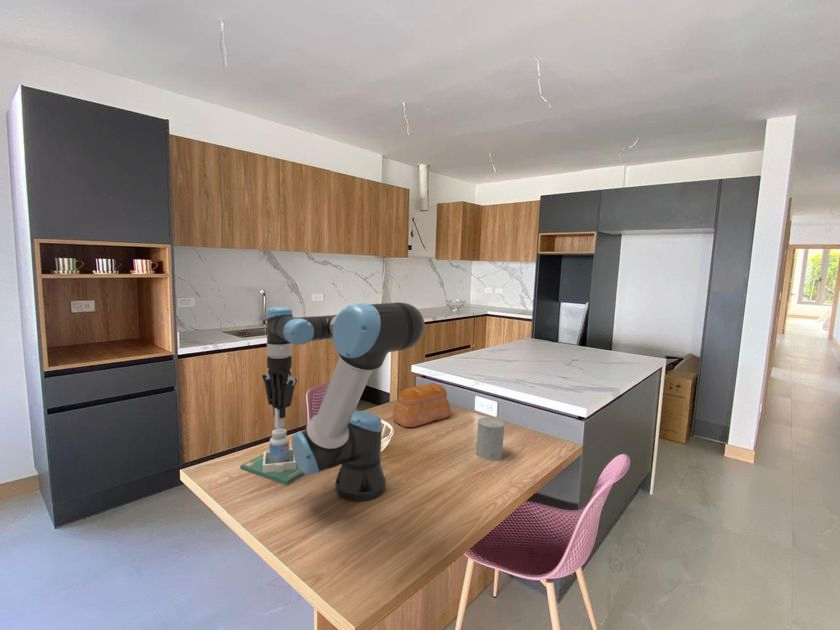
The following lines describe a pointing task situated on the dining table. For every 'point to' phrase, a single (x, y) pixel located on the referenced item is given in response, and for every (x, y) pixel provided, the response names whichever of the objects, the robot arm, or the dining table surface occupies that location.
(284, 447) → the pill bottle
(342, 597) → the dining table surface
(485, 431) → the grey concrete cylinder
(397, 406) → the bread
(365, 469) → the robot arm
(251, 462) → the board
